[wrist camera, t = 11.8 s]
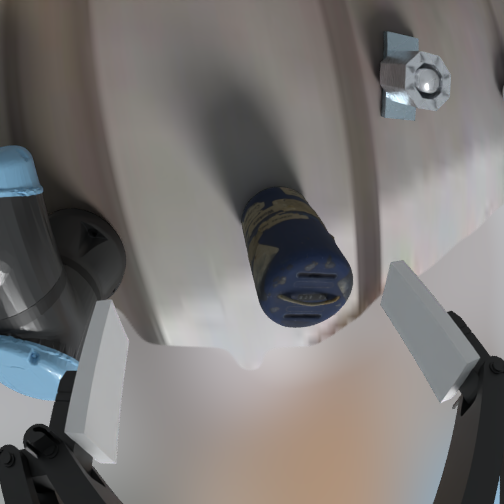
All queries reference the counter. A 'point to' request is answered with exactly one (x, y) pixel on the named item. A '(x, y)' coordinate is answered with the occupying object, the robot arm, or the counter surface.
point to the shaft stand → (423, 77)
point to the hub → (403, 77)
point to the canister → (294, 259)
